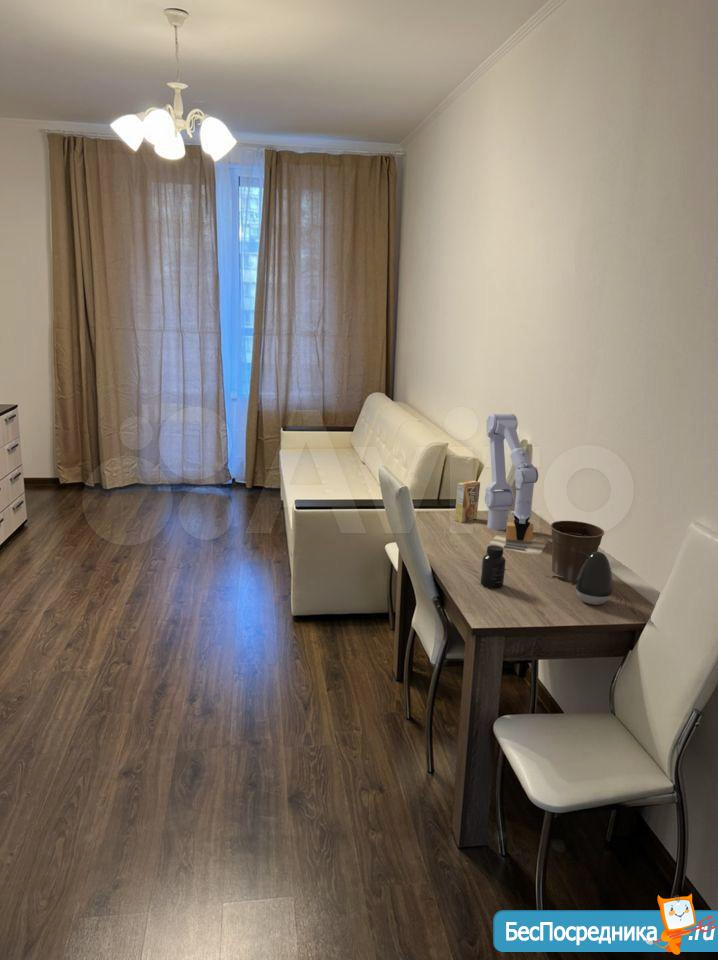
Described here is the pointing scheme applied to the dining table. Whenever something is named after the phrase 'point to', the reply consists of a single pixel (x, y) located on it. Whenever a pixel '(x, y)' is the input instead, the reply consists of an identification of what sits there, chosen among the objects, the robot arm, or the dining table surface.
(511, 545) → the graphite strip
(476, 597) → the dining table surface
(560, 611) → the dining table surface
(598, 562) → the black egg shaped device
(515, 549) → the graphite strip
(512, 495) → the robot arm
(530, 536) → the block
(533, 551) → the board
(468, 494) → the candy box
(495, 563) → the supplement bottle
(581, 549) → the plant pot
